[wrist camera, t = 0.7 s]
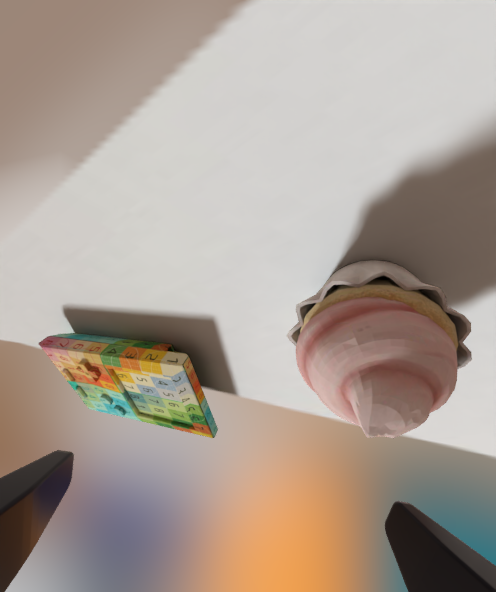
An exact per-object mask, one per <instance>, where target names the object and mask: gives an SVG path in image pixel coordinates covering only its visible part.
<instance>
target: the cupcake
mask: <svg viewBox="0 0 496 592" xmlns="http://www.w3.org/2000/svg"><path fill="white" fill-rule="evenodd" d="M296 312H297V316H298V320H299V322H298V323H297V324H296V325H295V326H294V327H293V328H292V329H291V330H290V331H289V333H288V334H287V337H288V338H289V340H290V341H291V342H292V343H293V344H294V345H295V346H296V358H297V364H298V368H299V371H300V373H301V375H302V377H303V379H304V380H305V382H306V383H307V385H308V386H309V387H310V388H311V389H312V390H313V391H314V392H316V393H317V395H318V397H319V398H320V400H321V401H322V402H323V403H324V404H325V405H326V406H327V407H328V408H329V409H330V410H331V411H332V412H333V413H335V414H336V415H338V416H339V417H341V418H343V419H345V420H347V421H349V422H351V423H353V424H355V425H358V426H360V427H362V429H363V432H364V433H365V434H366V436H367V437H370V438H371V437H380V436H386V437H390V438H395V437H397V436H399V435H402V434H404V433H406V432H408V431H410V430H413V429H415V428H417V427H418V426H420V425H421V424H422V423H424V422H425V421H426V420H427V418H428V416H429V413H431V412H433V411H435V410H437V409H439V408H440V407H441V406H442V405H444V404H445V403H446V402H447V400H448V398H449V397H450V395H451V394H452V392H453V391H454V389H455V385H456V381H457V369H459V368H462V367H464V366H466V365H467V364H468V363H469V362H470V361H471V360H472V357H471V352H470V351H469V349H468V348H467V347H466V346H465V345H464V344H463V341H464V340H465V339H466V337H467V336H468V335H469V333H470V332H471V323H470V322H469V321H468V319H467V318H466V317H465V316H464V315H462V314H460V313H458V312H457V311H455V310H453V309H451V308H449V307H448V306H447V304H446V297H445V295H444V293H443V291H442V290H441V288H439V287H436V286H432V285H429V284H425V283H422V282H421V281H420V280H419V279H418V278H417V277H416V276H415V275H413V274H412V273H411V272H409V271H408V270H406V269H405V268H403V267H401V266H399V265H396V264H394V263H391V262H386V261H377V260H369V261H359V262H356V263H353V264H350V265H347V266H345V267H343V268H341V269H340V270H338V271H336V272H335V273H334V274H333V275H332V276H331V277H330V278H329V279H328V280H327V282H326V283H325V284H324V286H323V287H322V288H321V289H320V290H319V292H318V293H317V294H316V295H314V296H312V297H310V298H308V299H307V300H305V301H303V302H301V303H299V304H297V305H296Z"/></svg>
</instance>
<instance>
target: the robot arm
mask: <svg viewBox="0 0 496 592" xmlns="http://www.w3.org/2000/svg"><path fill="white" fill-rule="evenodd" d="M73 460H74V455H73V453H72V452H67V451H61V450H57V451H54V452H52V453H50V454H48V455H46V456H44V457H42V458H40V459H38V460H36V461H34V462H32V463H30V464H28V465H26V466H24V467H22V468H20V469H18V470H16V471H14V472H12V473H9V474H7V475H6V476H3V477H2V478H0V592H5V590H6V589H7V587H8V586H9V585H10V583H11V582H12V580H13V579H14V577H15V576H16V574H17V573H18V571H19V570H20V569H21V567H22V566H23V564H24V563H25V561H26V560H27V558H28V557H29V555H30V553H31V552H32V550H33V548H34V547H35V545H36V543H37V542H38V540H39V538H40V536H41V535H42V533H43V531H44V529H45V528H46V526H47V524H48V522H49V521H50V518H51V517H52V515H53V514H54V512H55V510H56V508H57V507H58V505H59V503H60V501H61V500H62V498H63V496H64V494H65V493H66V491H67V489H68V487H69V484H70V482H71V478H72V470H73ZM385 530H386V534H387V537H388V540H389V542H390V545H391V548H392V550H393V553H394V555H395V558H396V561H397V563H398V566H399V568H400V571H401V574H402V576H403V579H404V582H405V584H406V587H407V589H408V592H496V566H495V565H494V564H492V563H491V562H490V561H488V560H487V559H485V558H484V557H483V556H481V555H480V554H479V553H477V552H476V551H475V550H473V549H471V548H470V547H469V546H468V545H466V544H465V543H464V542H462V541H461V540H459V539H458V538H457V537H455V536H454V535H453V534H451V533H450V532H448V531H447V530H446V529H444V528H443V527H442V526H440V525H439V524H438V523H436V522H435V521H433V520H432V519H431V518H429V517H428V516H427V515H425V514H424V513H422V512H421V511H420V510H418V509H417V508H416V507H414V506H413V505H411V504H410V503H406V502H400V501H397V502H395V503H394V504H393V506H392V508H391V510H390V513H389V515H388V517H387V519H386V522H385Z"/></svg>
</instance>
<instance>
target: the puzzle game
mask: <svg viewBox="0 0 496 592" xmlns="http://www.w3.org/2000/svg"><path fill="white" fill-rule="evenodd" d="M39 345H40V346H41V348H42V349H43V350H44V351H45V353H46V354H47V355H48V357H49V358H50V359H51V360H52V362H53V363H54V364H55V366H56V367H57V368H58V369H59V371H60V372H61V373H62V375H63V376H64V377H65V378H66V380H67V381H68V382H69V384H70V385H71V386H72V387H73V389H74V390H75V391H76V393H77V394H78V395H79V397H80V398H81V399H82V400H83V402H84V403H85V404H86V406H88V408H89V409H92V410H96V411H101V412H105V413H109V414H113V415H117V416H121V417H126V418H130V419H135V420H139V421H143V422H147V423H151V424H156V425H160V426H164V427H168V428H173V429H177V430H181V431H185V432H190V433H194V434H198V435H202V436H207V437H211V438H214V437H215V435H216V432H217V430H218V429H217V426H216V423H215V421H214V418H213V416H212V413H211V411H210V408H209V406H208V403H207V401H206V398H205V396H204V393H203V391H202V388H201V386H200V383H199V381H198V378H197V376H196V373H195V371H194V368H193V366H192V363H191V361H190V358H189V356H188V355H187V354H185V353H180V352H175V351H174V348H173V346H172V344H165V343H156V342H147V341H139V340H130V339H121V338H113V337H104V336H96V335H87V334H78V333H69V334H58V335H53V336H48V337H46V338H45V339H44V340H42V341H41V342H40V343H39Z"/></svg>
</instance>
